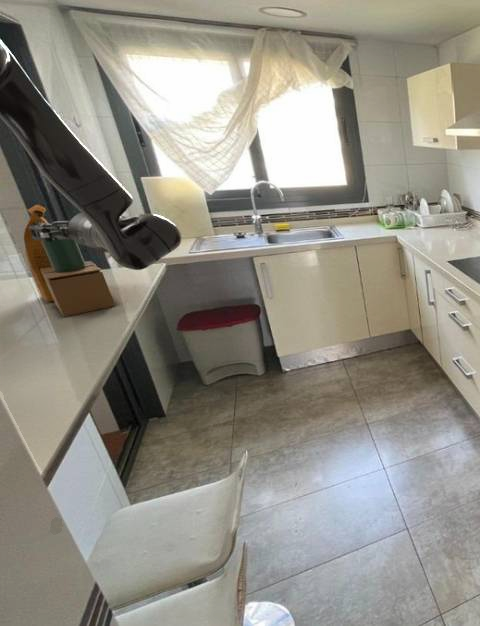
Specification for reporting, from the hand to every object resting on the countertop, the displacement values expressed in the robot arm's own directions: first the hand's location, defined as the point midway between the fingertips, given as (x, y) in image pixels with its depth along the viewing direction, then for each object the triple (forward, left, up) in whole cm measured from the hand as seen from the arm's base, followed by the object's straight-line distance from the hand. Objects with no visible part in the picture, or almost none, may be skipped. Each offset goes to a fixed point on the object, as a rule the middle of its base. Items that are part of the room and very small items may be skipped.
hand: (69, 224), depth 96 cm
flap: (-3, +8, -12) cm, 15 cm away
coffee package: (-7, +25, -21) cm, 34 cm away
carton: (-4, +11, -21) cm, 24 cm away
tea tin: (-4, +11, -12) cm, 17 cm away
